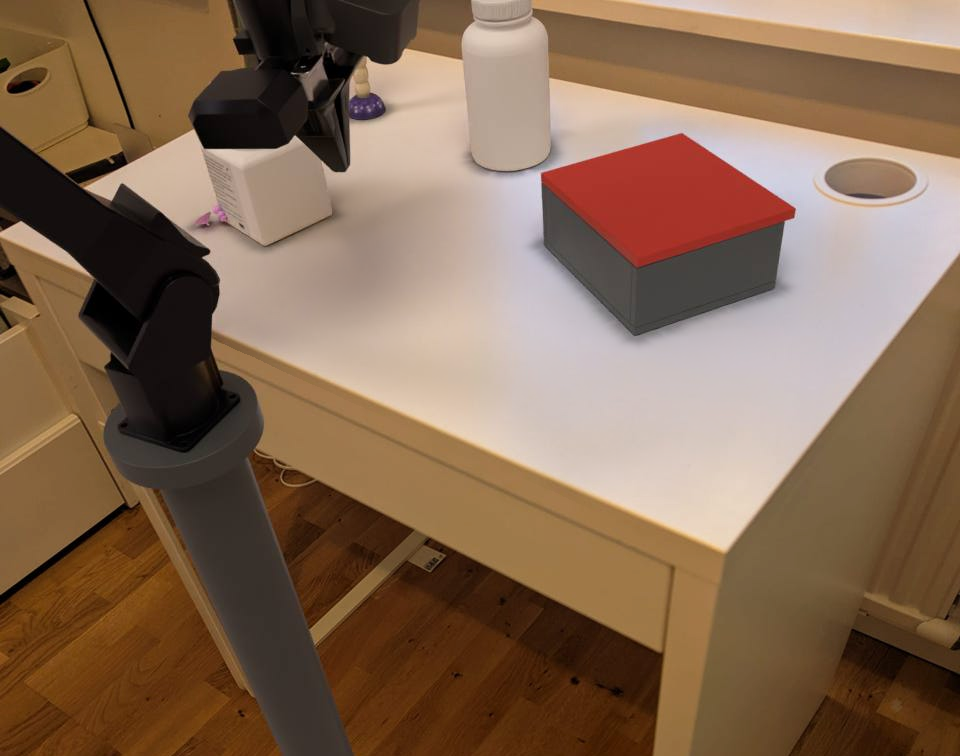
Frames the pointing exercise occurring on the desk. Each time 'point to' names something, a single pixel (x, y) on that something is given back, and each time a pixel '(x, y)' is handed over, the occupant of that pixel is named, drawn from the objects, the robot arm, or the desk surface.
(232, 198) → the container
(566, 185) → the lid
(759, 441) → the desk surface
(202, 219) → the pink bumpy piece
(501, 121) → the pill bottle
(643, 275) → the box
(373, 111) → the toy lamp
